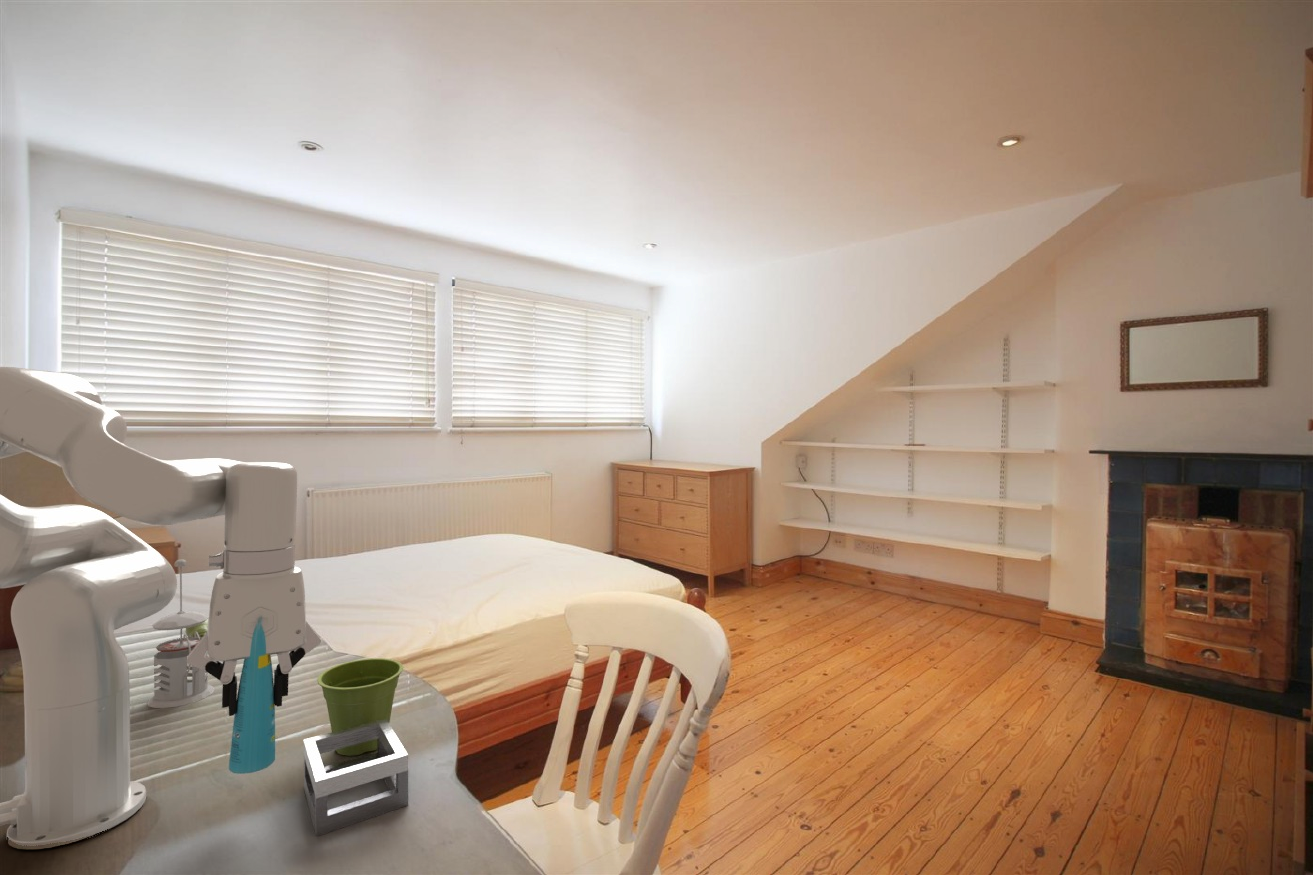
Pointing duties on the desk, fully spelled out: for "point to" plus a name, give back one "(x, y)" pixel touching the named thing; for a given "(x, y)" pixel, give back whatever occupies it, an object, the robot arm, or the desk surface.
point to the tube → (254, 711)
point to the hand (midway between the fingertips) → (255, 705)
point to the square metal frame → (354, 775)
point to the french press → (179, 660)
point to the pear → (198, 629)
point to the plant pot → (360, 695)
